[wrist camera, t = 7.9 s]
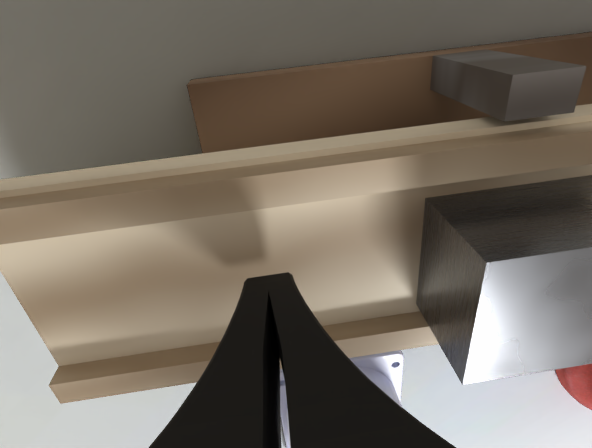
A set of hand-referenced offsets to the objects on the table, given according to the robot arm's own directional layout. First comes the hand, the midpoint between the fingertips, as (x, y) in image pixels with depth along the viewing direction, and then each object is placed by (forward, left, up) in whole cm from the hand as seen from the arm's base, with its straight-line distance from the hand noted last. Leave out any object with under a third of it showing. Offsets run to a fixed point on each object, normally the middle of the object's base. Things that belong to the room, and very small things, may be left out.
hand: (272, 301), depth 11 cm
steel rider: (0, -8, -1) cm, 8 cm away
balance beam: (0, -8, -2) cm, 8 cm away
